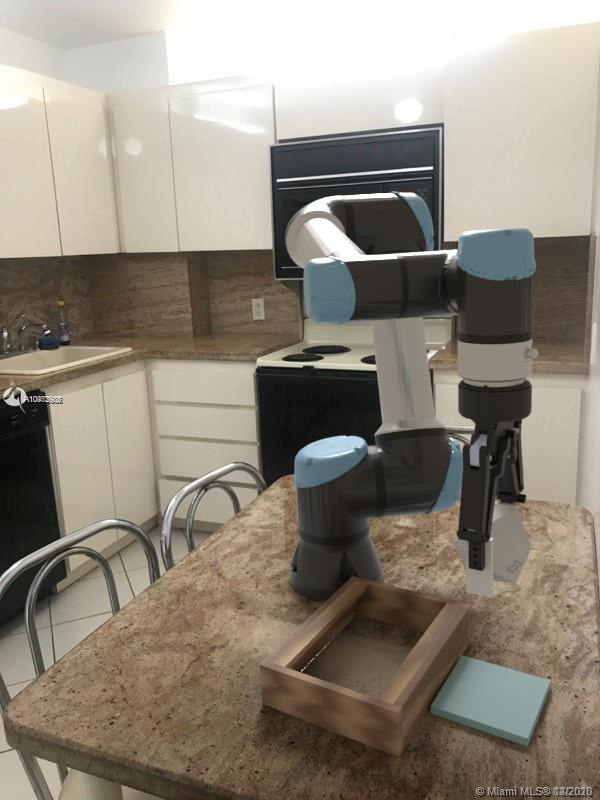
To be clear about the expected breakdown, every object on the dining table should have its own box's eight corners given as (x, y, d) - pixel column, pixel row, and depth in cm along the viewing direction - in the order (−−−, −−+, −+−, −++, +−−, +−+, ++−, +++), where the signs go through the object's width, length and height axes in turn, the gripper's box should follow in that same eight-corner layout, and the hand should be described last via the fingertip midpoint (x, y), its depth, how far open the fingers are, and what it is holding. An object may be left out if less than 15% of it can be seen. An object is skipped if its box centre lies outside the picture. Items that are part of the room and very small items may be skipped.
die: (500, 609, 69) (553, 534, 69) (431, 558, 72) (481, 485, 71) (503, 596, 77) (551, 529, 76) (441, 551, 80) (486, 485, 79)
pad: (431, 713, 77) (430, 706, 77) (462, 661, 86) (462, 655, 86) (527, 746, 71) (527, 738, 71) (550, 687, 80) (550, 680, 80)
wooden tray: (262, 704, 81) (259, 664, 79) (354, 609, 100) (352, 576, 99) (399, 757, 71) (397, 713, 70) (470, 641, 91) (470, 604, 89)
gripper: (500, 405, 59) (498, 630, 64) (554, 362, 77) (549, 540, 82) (421, 399, 63) (425, 611, 68) (490, 359, 81) (488, 530, 86)
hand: (492, 572), depth 75 cm, fingers closed on die, 9 cm apart
